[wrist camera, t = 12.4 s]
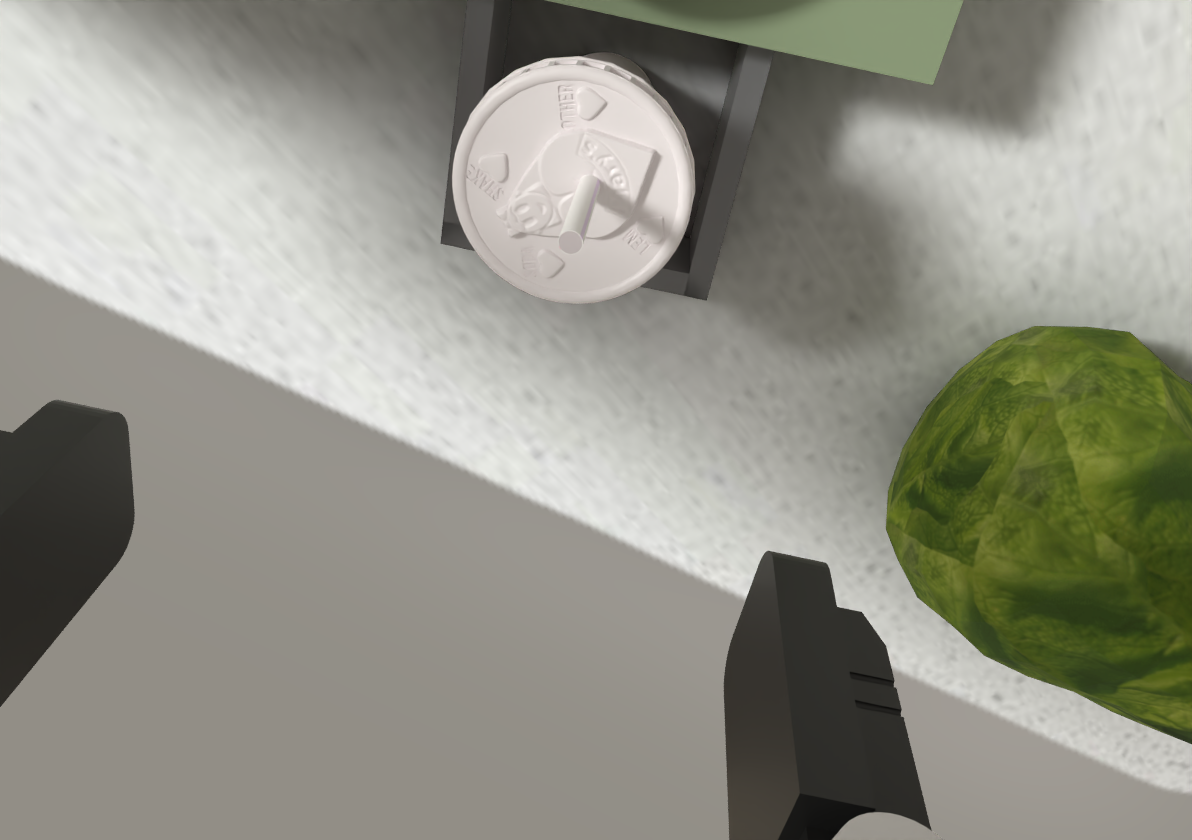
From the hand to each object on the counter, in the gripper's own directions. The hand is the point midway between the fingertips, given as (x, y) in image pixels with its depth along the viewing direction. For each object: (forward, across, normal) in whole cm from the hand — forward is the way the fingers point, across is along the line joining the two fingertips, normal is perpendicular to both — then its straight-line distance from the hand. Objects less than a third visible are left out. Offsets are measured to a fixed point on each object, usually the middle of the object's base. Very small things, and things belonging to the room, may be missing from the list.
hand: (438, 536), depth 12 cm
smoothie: (+24, 0, 0) cm, 25 cm away
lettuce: (+24, -23, +10) cm, 35 cm away
